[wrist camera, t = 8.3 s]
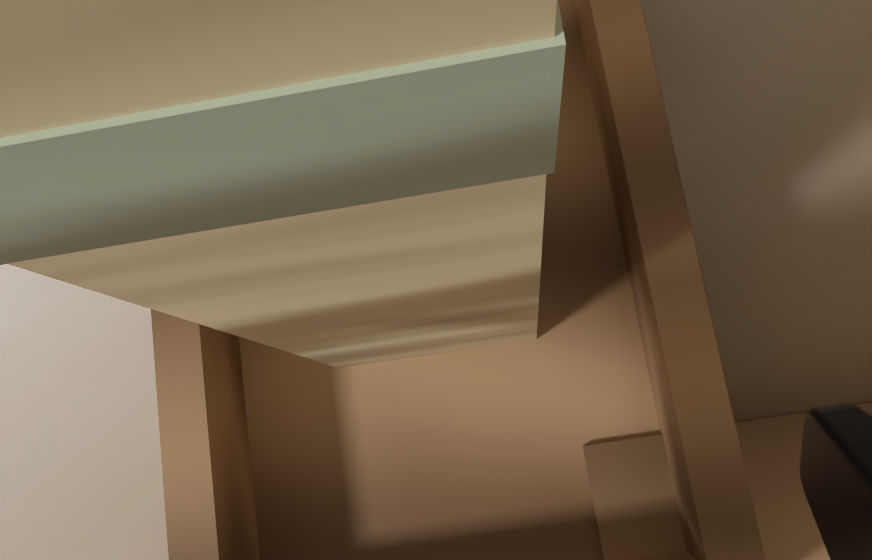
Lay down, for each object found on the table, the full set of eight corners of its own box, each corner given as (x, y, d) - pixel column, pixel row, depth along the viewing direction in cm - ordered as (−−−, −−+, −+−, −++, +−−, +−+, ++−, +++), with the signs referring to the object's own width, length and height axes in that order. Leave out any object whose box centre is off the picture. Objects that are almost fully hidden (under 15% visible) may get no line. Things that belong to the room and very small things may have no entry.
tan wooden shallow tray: (735, 586, 16) (778, 620, 13) (238, 650, 17) (178, 695, 14) (593, -72, 20) (604, -160, 17) (182, 13, 21) (125, -56, 18)
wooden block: (539, 341, 17) (585, -187, 2) (336, 370, 17) (-660, 71, 3) (508, 146, 18) (406, -1083, 3) (316, 179, 18) (-512, -784, 4)
